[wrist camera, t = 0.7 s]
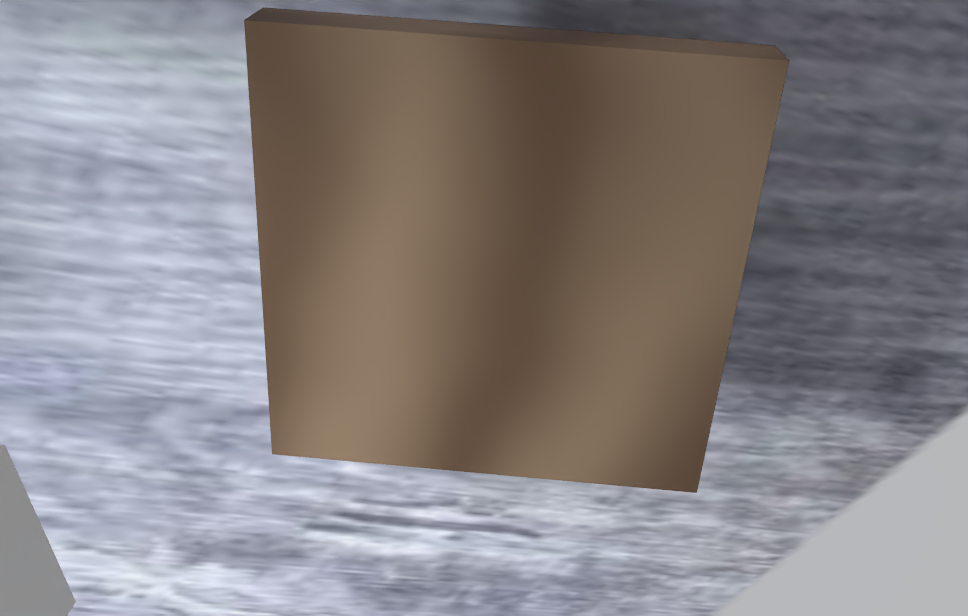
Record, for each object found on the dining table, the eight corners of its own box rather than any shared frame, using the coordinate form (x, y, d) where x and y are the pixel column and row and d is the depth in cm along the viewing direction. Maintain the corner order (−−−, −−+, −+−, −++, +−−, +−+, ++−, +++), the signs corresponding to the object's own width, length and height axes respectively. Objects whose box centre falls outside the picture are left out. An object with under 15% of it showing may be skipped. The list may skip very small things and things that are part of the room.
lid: (286, 423, 27) (272, 453, 26) (263, 7, 22) (244, 20, 20) (689, 459, 27) (696, 492, 26) (774, 45, 21) (789, 60, 20)
